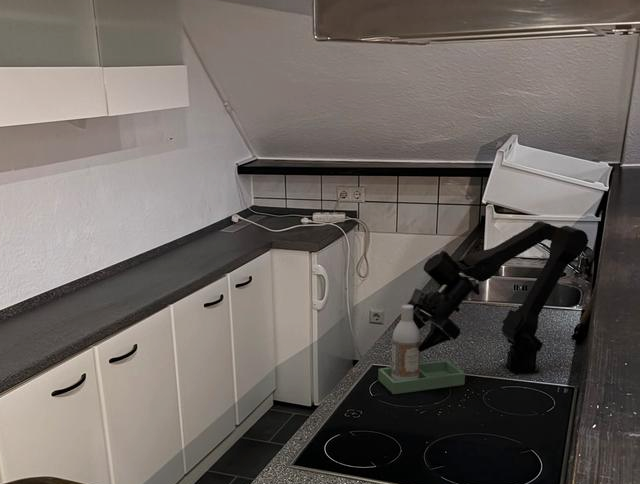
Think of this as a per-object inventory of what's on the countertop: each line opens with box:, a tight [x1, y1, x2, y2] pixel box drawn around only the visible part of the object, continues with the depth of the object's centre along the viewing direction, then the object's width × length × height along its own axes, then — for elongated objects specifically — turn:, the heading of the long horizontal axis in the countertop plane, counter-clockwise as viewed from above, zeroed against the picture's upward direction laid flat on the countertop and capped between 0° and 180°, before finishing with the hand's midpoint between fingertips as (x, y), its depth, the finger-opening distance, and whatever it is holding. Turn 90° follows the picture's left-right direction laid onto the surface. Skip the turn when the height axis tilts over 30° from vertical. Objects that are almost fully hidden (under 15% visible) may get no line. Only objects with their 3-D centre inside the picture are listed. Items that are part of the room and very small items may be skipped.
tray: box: [377, 359, 466, 395], centre depth 195 cm, size 19×10×3 cm, turn 105°
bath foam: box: [391, 304, 422, 381], centre depth 190 cm, size 7×7×20 cm
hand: (410, 344), depth 191 cm, fingers open, 9 cm apart
